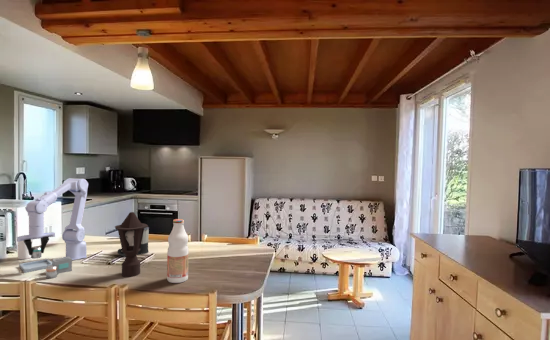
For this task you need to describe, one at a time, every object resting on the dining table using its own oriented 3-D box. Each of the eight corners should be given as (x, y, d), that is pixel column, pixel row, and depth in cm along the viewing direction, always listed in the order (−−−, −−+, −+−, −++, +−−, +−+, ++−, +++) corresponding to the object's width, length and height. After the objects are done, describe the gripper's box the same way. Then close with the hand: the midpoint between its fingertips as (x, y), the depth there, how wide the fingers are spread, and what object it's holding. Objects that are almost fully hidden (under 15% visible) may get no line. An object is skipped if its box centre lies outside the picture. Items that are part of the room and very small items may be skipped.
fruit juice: (173, 285, 140) (174, 222, 139) (163, 279, 146) (164, 219, 145) (192, 279, 147) (193, 220, 146) (181, 274, 153) (182, 217, 152)
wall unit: (68, 268, 158) (68, 255, 158) (72, 270, 154) (72, 258, 154) (51, 271, 153) (52, 258, 152) (55, 274, 149) (55, 261, 149)
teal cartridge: (40, 255, 154) (41, 245, 154) (42, 257, 152) (42, 247, 151) (30, 257, 151) (30, 246, 151) (31, 259, 149) (32, 248, 149)
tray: (48, 261, 167) (48, 258, 167) (54, 266, 159) (54, 264, 159) (19, 266, 158) (19, 263, 158) (24, 272, 150) (24, 269, 150)
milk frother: (151, 250, 191) (152, 226, 190) (137, 258, 175) (137, 232, 175) (129, 249, 192) (130, 225, 192) (113, 257, 177) (114, 231, 176)
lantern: (147, 267, 162) (148, 209, 161) (147, 277, 148) (148, 214, 147) (115, 270, 156) (116, 210, 155) (112, 281, 143) (112, 215, 142)
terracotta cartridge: (55, 274, 148) (55, 264, 148) (58, 277, 146) (58, 266, 146) (45, 277, 145) (45, 266, 145) (47, 279, 143) (47, 268, 143)
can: (15, 260, 168) (15, 237, 167) (21, 256, 174) (21, 235, 174) (29, 259, 169) (29, 237, 169) (35, 255, 176) (35, 234, 175)
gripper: (52, 222, 159) (52, 248, 160) (15, 226, 148) (15, 255, 149) (56, 224, 155) (56, 251, 155) (18, 229, 144) (18, 258, 144)
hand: (36, 253), depth 152 cm, fingers closed on teal cartridge, 4 cm apart
